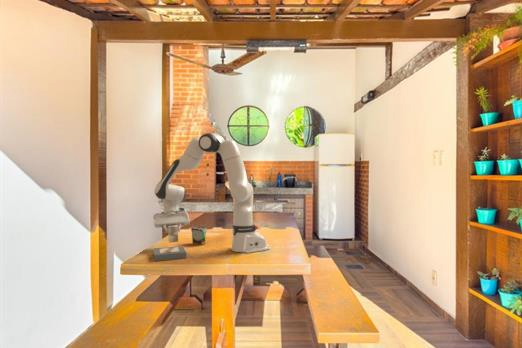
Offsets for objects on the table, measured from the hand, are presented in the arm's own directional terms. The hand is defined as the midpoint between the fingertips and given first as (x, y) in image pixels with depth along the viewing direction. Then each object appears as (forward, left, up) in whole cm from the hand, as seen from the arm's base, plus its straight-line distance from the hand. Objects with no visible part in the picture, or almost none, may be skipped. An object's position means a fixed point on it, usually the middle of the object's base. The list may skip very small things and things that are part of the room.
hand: (173, 231), depth 198 cm
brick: (0, -1, -6) cm, 6 cm away
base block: (+3, +13, -11) cm, 17 cm away
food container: (-18, -11, -11) cm, 24 cm away
